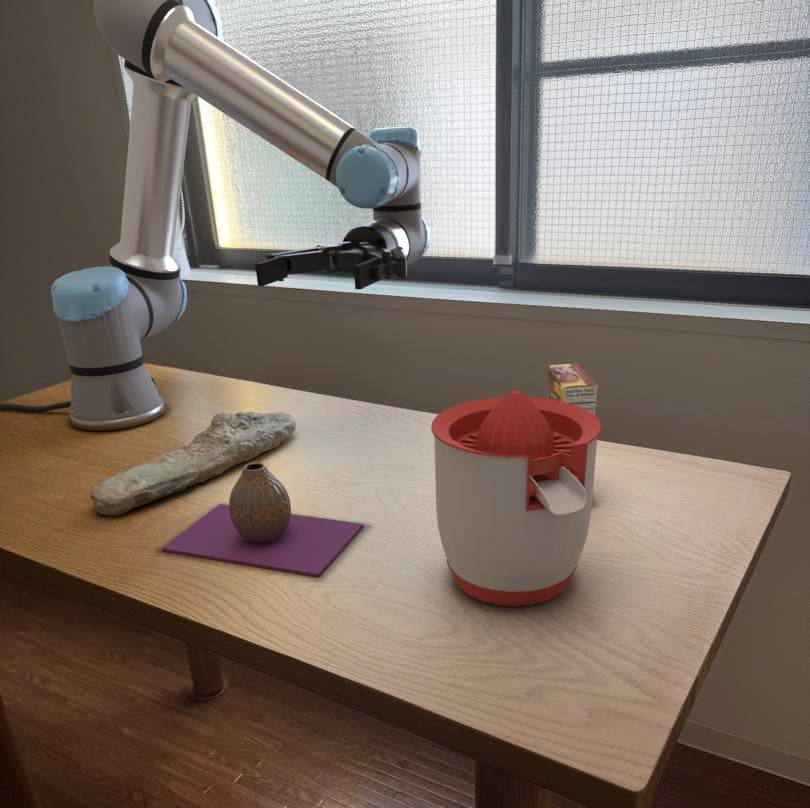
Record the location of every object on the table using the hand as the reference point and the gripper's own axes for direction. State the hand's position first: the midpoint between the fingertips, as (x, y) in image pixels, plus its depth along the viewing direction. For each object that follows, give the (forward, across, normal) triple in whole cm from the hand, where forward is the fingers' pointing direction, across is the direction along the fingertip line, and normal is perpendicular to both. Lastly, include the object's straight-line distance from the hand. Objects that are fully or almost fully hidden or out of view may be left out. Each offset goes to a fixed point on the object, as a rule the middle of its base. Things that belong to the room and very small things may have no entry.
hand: (306, 276), depth 94 cm
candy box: (-2, -33, -26) cm, 42 cm away
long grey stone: (+4, +17, -26) cm, 31 cm away
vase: (+20, -2, -26) cm, 33 cm away
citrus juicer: (+21, -32, -26) cm, 47 cm away
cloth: (+20, -2, -26) cm, 33 cm away
